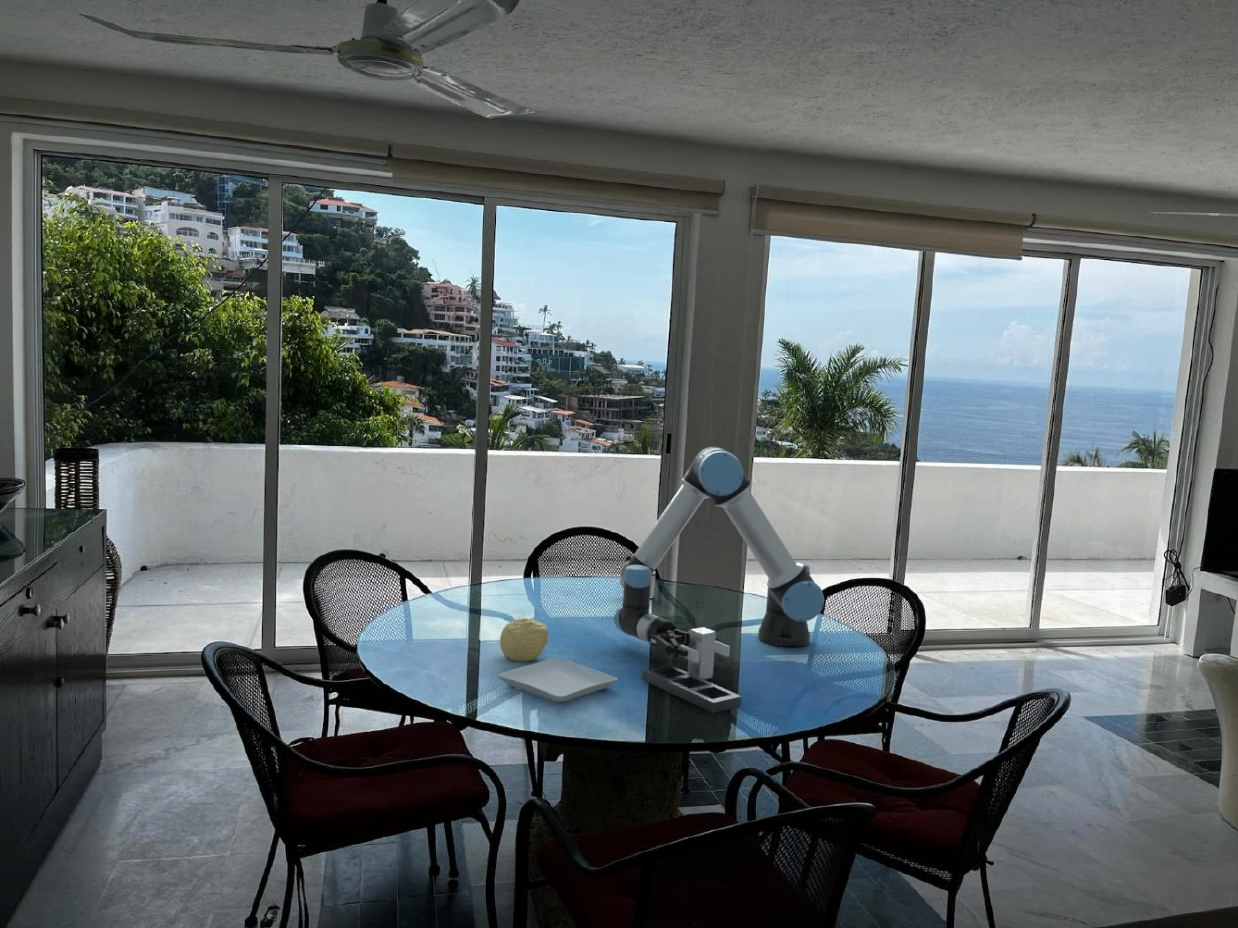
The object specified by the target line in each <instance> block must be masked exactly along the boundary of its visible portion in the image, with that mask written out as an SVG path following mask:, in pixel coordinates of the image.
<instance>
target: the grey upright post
mask: <svg viewBox="0 0 1238 928" xmlns="http://www.w3.org/2000/svg"><path fill="white" fill-rule="evenodd" d="M689 629H690V628H689ZM716 635H717V632H716V631H715V630H713V629H709V628H707V627H705V626H704V627H703V626H702V627H697V628H692V629H690V641H689V645H688V647H689V648H691V649H694V650H696V651H699V662H698V663H696V662H693V661H691V660H689V659H687V671H686V672H688V673H690V674H693V675H695V676H697V677H699V678H702V679H704V680H708V679H713V675H714V674H713V673H714V665H715V664H714V661H715V652H714V651H715V637H717V636H716Z"/></svg>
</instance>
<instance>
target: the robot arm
mask: <svg viewBox="0 0 1238 928" xmlns="http://www.w3.org/2000/svg"><path fill="white" fill-rule="evenodd" d="M681 480H682V481H681V482H682V484H681V486H680V487H679V489H678V490H677V492H676V493H675V494H674V496H673V497H672V499H671V501H670V502H669V503H668V505H667V506H666V507H665V509H664V510H663V512H662V513H661V515H660V516H659V518H658V519H657V521H656V522H655V524H654V525H653V526H652V528H651V529H650V531H649V532H648V533H647V535H646V537H645V538H644V540H643V541H642V542H641V544H640V546H638V548H637V550H636V551H635V552H634V554H633V556H631V559H629V561H627V562H626V563H624V565H623V566H622V569H621V571H620V572H621V573H620V579H621V580H622V583H623V587H624V588H623V591H622V593H623V595H622V598H623V599H622V605H621V606H619V607H618V608H617V609H616V611H615V614H614V616H613V622H614V625H615V626H616V628H617V629H618V630H619V631H621V632H623V634H624V633H625V634H626V635H629V636H632V637H634V638H636V639H639V640H642V641H644V642H646V643H647V644H648V645H651V646H652V647H656V648H657V649H658V650H659V651H661V652H662V653H664V654H665V655H667V656H672V655H673V658H674V659H678V658H679V657H683V658H684V659H686V660H688V659H689V660H691V661H693V662H696V663H698V662H699V651H696V650H694V649H691V648H689V641H690V628H688V629H686V630H687V631H684V630H681V629H678V628H677V627H676V625H675V624H674V623H673V622H672V621H670V620H667V619H665V618H662V617H660V616H657V615H655V614H653V613H650V606H651V604H650V601H651V600H650V591H651V582H652V579H651V575H652V574H653V572H654V571H655V570H656V569H657V567H658V566H659V564H660V563H661V561H662V560H663V559H664V557H665V556H666V554H667V553H668V551H669V550H670V549H671V547H672V546H673V544H674V543H675V542H676V540H677V538H678V537H679V536H680V534H682V531H683V530H684V529H685V527H686V526H687V524H688V523H689V521H690V520H691V518H692V517H693V516H694V514H696V512H697V510H698V509H699V507H700V506H701V505H702V503H703V501H704V500H705V499H709V498H710V500H711V501H712V502H713V504H714V506H715V507H720V508H722V509H724V511H725V513H726V515H727V516H728V517H729V519H730V521H731V522H732V523H733V525H734V526H735V528H736V530H737V531H738V533H739V534H740V536H741V537H742V539H743V540H744V542H745V544H746V545H747V547H748V548H749V550H750V552H751V553H752V555H753V556H754V558H755V559H756V561H757V563H758V564H759V566H760V567H761V569H762V570H763V571H764V573H765V575H766V577H767V579H768V580H767V583H766V585H767V596H766V610H765V614H764V615H763V616H764V617H763V619H762V621H761V623H760V627H759V628H758V635H757V637H758V639H759V640H760V641H761V642H763V643H765V642H768V643H771V644H770V645H772V644H777V645H782V646H781V647H783V646H795V647H794V648H799V647H798V646H802V647H806V646H808V645H810V643H811V633H810V630H809V625H808V622H809V621H811V620H813V619H814V618H816V617H817V616H819V614H820V613H821V612H822V610H823V607H824V603H825V596H824V593H823V589H822V588H821V586H820V585H818V584H817V583H816V582H815V581H814V579H813V578H812V576H811V571H810V569H811V568H810V566H809V565H808V564H803V562H798V561H795V560H794V558H793V556H792V555H791V553H790V552H789V550H788V549H787V547H786V546H785V544H784V542H783V541H782V539H781V538H780V536H779V535H778V533H777V532H776V530H775V529H774V527H773V526H772V524H771V522H770V521H769V519H768V518H767V516H766V515H765V512H764V511H763V510H762V508H761V506H760V505H759V503H758V501H756V498H755V497H754V495H753V494H752V493H751V485H752V482H751V481H750V479H749V477H748V476H747V474H746V473H745V471H744V469H743V466H742V464H741V461H740V460H739V459H738V457H737V456H736V455H734V454H733V453H731V452H730V451H727V450H726V449H725V448H723V447H718V446H710V447H706V448H704V449H702V450H701V451H700V452H698V453H697V455H696V456H695V458H694V459H693V461H692V462H691V464H690V465H689V467H688V469H687V470H686V472H685V474H684V475H683V477H682V478H681ZM718 640H719V637H718V636H716V637H715V651H714V653H716V654H719V655H722V656H723V657H726V658H728V657H730V647H731V646H730V645H729V644H726V643H723V642H720V641H718ZM768 643H767V644H768ZM807 644H808V645H807ZM777 645H776V646H777ZM805 645H806V646H805ZM796 646H797V647H796Z"/></svg>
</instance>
